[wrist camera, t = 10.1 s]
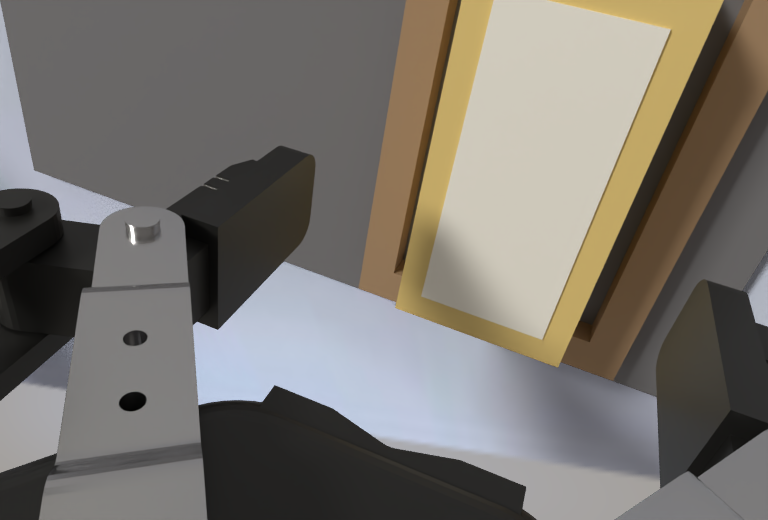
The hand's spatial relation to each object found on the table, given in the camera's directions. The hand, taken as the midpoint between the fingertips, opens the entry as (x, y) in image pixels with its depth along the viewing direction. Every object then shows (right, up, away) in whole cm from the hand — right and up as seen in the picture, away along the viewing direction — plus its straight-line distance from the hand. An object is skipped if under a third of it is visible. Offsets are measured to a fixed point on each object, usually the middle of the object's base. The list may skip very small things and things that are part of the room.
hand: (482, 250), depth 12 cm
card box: (+3, +4, +6) cm, 7 cm away
